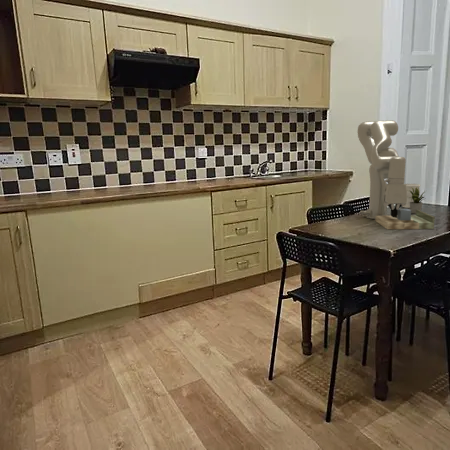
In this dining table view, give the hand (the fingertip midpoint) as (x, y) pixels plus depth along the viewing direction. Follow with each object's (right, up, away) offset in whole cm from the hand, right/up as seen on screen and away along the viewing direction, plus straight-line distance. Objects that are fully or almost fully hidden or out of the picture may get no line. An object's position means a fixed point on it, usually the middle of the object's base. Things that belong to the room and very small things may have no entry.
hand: (393, 216), depth 192 cm
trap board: (+5, -4, +1) cm, 7 cm away
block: (+5, -1, 0) cm, 5 cm away
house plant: (+26, +3, +32) cm, 42 cm away
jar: (+33, +7, +50) cm, 60 cm away
